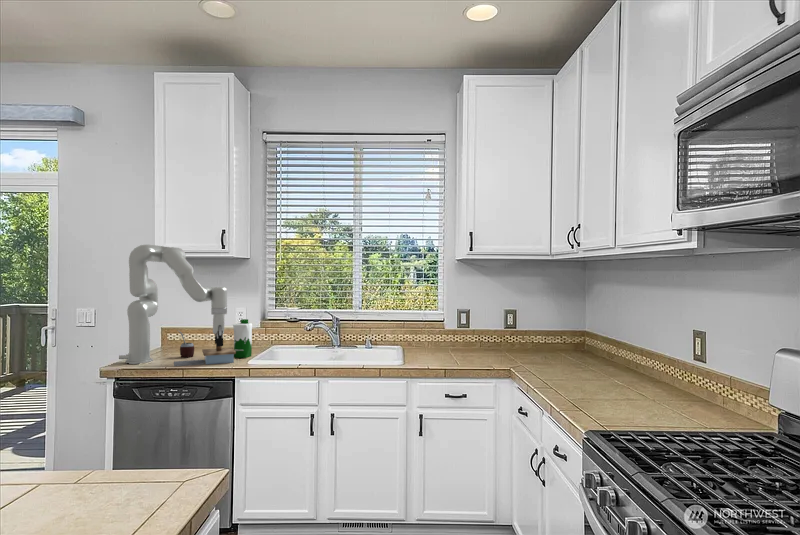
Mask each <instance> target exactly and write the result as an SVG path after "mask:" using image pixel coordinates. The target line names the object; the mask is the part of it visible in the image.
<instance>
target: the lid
mask: <svg viewBox="0 0 800 535" xmlns="http://www.w3.org/2000/svg"><path fill="white" fill-rule="evenodd" d="M202 353H203V356H204V357H205V356H210V355H227V354H236V351H235V350H234V347H223V346H218V347H217V346H216V345H215V348H207V349H206V348H205V349H202Z"/></svg>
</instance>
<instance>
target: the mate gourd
mask: <svg viewBox="0 0 800 535" xmlns="http://www.w3.org/2000/svg"><path fill="white" fill-rule="evenodd" d="M176 331H177V332H178V333H180V335H181V337H182V339H183V343H181V344H180V347H179V353H180V357H181V359H183V358H187V359H189V358H193V357H194V354H195V346H194V343H193V342H186V340H185V337H184V334H183V332H181V331H180V330H179V329H177V330H176Z"/></svg>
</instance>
